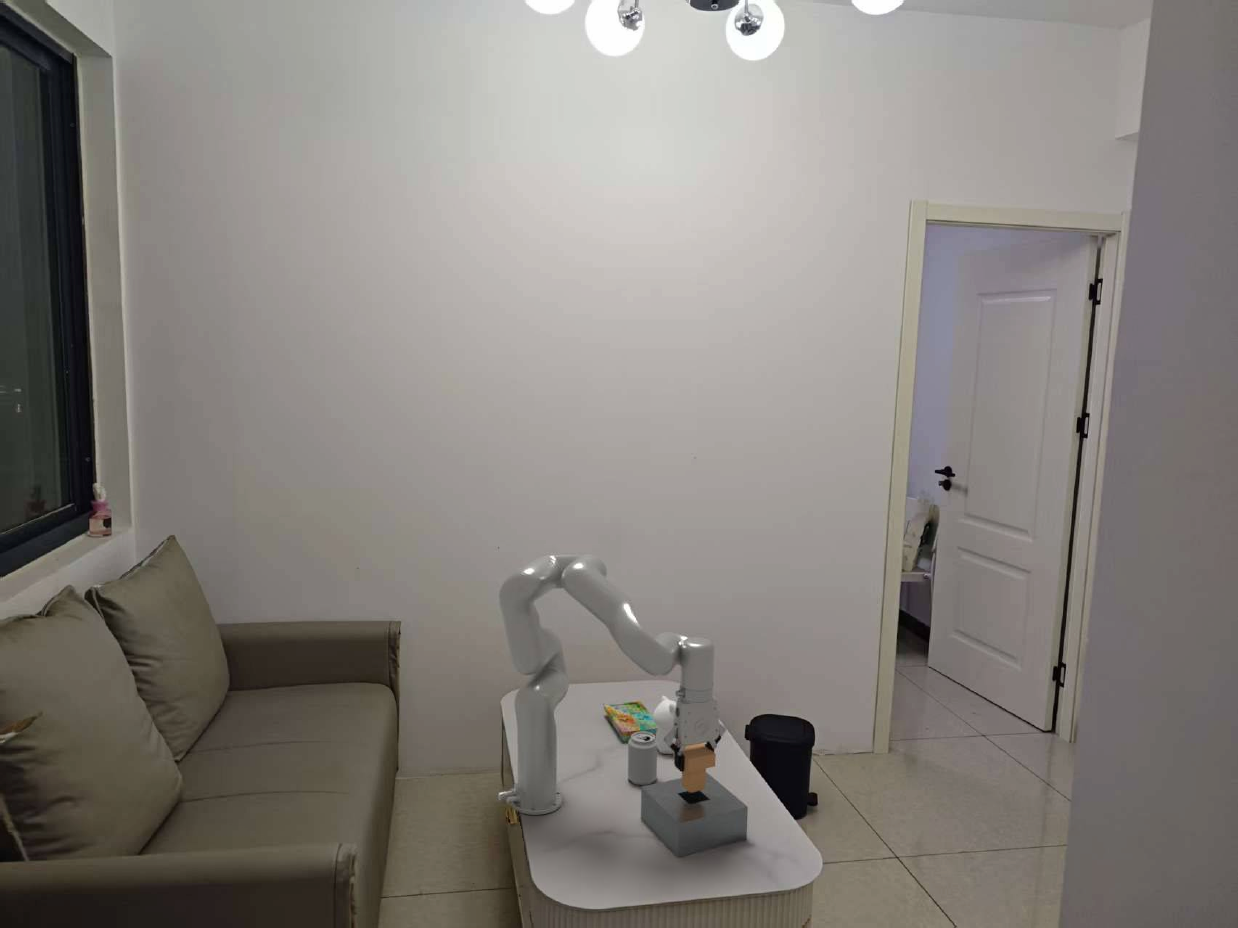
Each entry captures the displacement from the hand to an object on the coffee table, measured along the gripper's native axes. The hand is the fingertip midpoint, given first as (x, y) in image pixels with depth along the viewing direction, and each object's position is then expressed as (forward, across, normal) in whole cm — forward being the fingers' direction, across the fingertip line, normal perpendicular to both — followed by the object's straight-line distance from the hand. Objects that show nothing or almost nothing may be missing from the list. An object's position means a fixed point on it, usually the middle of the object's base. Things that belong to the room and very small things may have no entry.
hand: (694, 765), depth 206 cm
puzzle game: (+16, +12, +56) cm, 59 cm away
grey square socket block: (+16, 0, 0) cm, 16 cm away
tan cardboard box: (+5, 0, 0) cm, 5 cm away
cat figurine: (+16, +16, +38) cm, 44 cm away
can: (+16, 0, +26) cm, 30 cm away
